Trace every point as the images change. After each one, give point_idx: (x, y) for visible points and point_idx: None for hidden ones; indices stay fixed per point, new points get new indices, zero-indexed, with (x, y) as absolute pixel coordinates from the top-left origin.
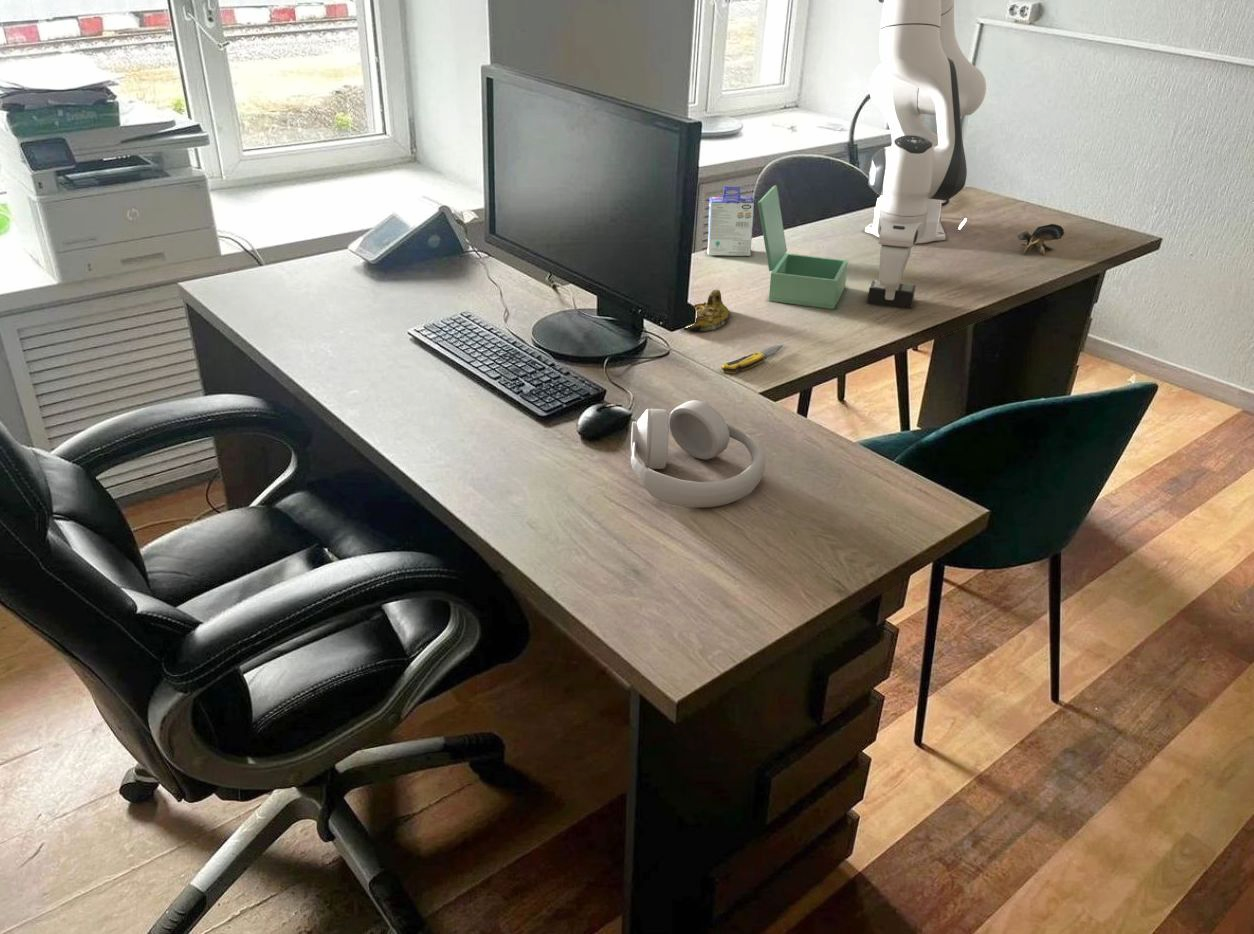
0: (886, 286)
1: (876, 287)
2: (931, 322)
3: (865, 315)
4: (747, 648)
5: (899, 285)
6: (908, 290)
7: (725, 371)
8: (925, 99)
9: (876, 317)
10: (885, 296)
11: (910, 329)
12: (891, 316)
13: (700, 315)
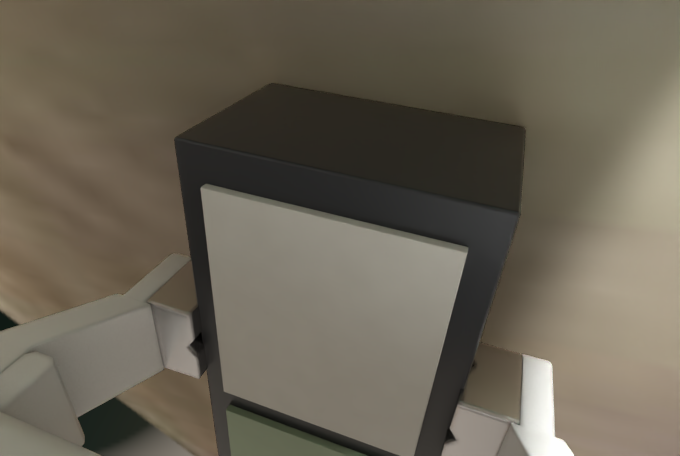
0: (44, 325)
1: (205, 221)
2: (138, 394)
3: (23, 62)
4: None
5: (353, 436)
6: (240, 452)
7: None
8: None
9: (39, 141)
10: (162, 263)
11: (9, 292)
12: (106, 235)
13: None
